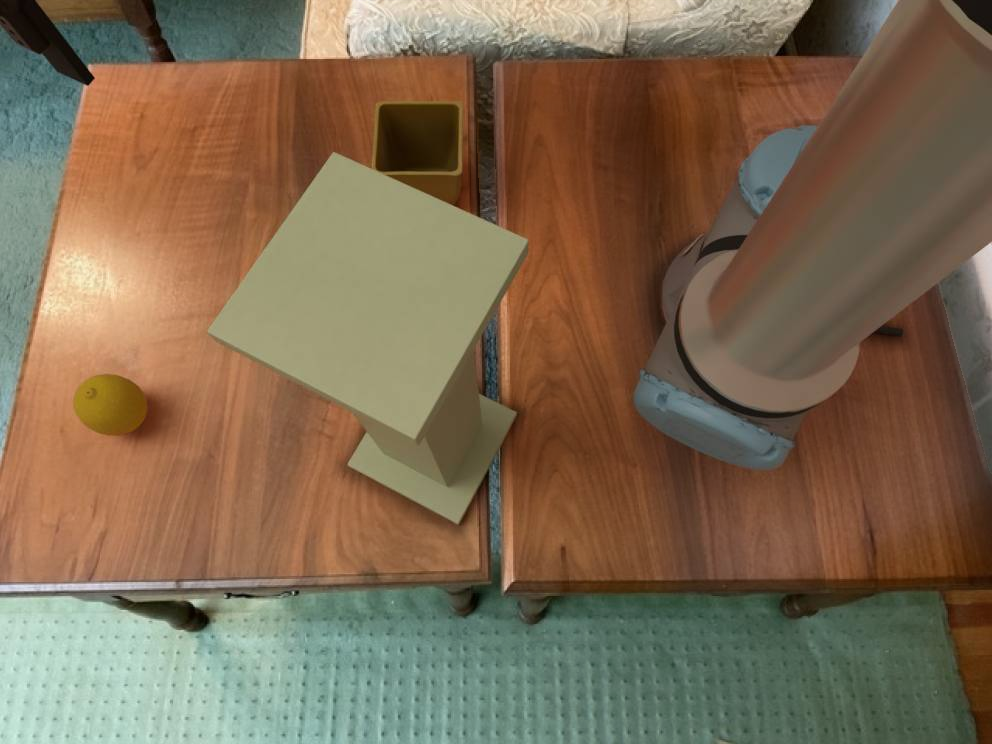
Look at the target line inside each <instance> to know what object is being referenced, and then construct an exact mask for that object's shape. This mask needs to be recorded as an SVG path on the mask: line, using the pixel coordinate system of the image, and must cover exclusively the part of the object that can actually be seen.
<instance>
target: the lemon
mask: <svg viewBox="0 0 992 744" xmlns="http://www.w3.org/2000/svg"><path fill="white" fill-rule="evenodd" d="M72 404H73V410H74V412H75V414H76V416H77V418H78V419H79V420H80V422H81V423H82V424H83V425H84V426H85V427H87V429H90V431H93V432H95V433H97V434H100V435H104V436H110V437H113V436H114V437H115V436H116V437H119V436H123V435H128V434H129V433H131V432H133V431H136V429H138V428H139V427H140V426H141V425H142V424H143V422H144V420H145V419H146V417H147V413H148V409H149V408H148V406H149V405H148V401H147V396H146V394H145V393H144V392H143V390H142V388H141V387H140V386H139V385H138V384H136V383H135V382H134V381H133V380H131V379H129V378H126V377H124V376H122V375H118V374H110V373H102V374H97V375H93V376H90V377H88V378H87V379H85V380H84V381H83V382H82V383H81V384H80V385H79V386H78V388H77V389H76V390H75V393H74V395H73V400H72Z"/></svg>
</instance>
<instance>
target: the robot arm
mask: <svg viewBox="0 0 992 744" xmlns="http://www.w3.org/2000/svg"><path fill="white" fill-rule="evenodd" d="M0 27H1V28H2V29H3V30H4V31H5V33H6V34H7V35H8V36H9V37H10V38H11V39H12V41H13V42H14V43H15V44H17V45H18V46H20V47H22V48H24V49H27V50H29V51H31V52H33V53H35V54H37V55H42V56H43V57H44V58H45V59H46V60H47V61H48V63H49V64H50V65H51V66H52V67H53V69H54V70H55V71H56V72H57V73H59V74H61V75H63V76H64V77H65V76H66V77H67V78H70V79H72V80H74V81H77V82H79V83H81V84H83V85H85V86H87V87H89V86H90V85H91V84H92V82H94V80H95V79H96V77H95V76H94V75H93V73H92V72H91V71H90V69H89V68H88V67H87V65H86V64H85V63H84V62H83V61H82V59H81V57H80V56H79V55H78V54H77V52H76V51H75V50H74V49H73V47H72V46H71V44H70V43H69V42H68V41H67V39H66V38H65V36H64V35H63V34H62V32H60V30H59V29H58V27H56V25H55V24H54V23H53V21H52V20H51V18H50V17H49V16H48V15H47V13H46V12H45V10H43V8H42V7H41V6H40V4H39V2H37V0H0ZM991 243H992V0H898V1H897V2H896V3H895V5H894V7H893V8H892V10H891V11H890V13H889V14H888V16H887V18H886V19H885V21H884V22H883V24H882V25H881V26H880V28H879V30H878V31H877V33H876V35H875V36H874V38H873V39H872V40H871V43H870V44H869V46H868V47H867V48H866V50H865V52H864V53H863V55H862V56H861V58H860V60H858V62H857V65H855V68H854V69H853V71H852V72H851V73H850V75H849V77H848V78H847V80H846V81H845V83H844V85H843V86H842V88H841V89H840V91H839V92H838V94H837V96H836V97H835V99H834V100H833V101H832V103H831V105H830V106H829V108H828V109H827V111H826V113H825V114H824V116H823V117H822V119H821V120H820V122H819V124H818V125H812V124H810V125H809V124H807V125H806V124H805V125H799V126H797V127H795V128H783V129H780V130H777V131H775V132H773V133H772V134H770V135H768V136H767V137H764V139H762V140H761V141H760V142H759V143H758V144H757V145H756V146H755V148H754V149H753V150H752V152H751V153H750V154H749V155H748V156H747V157H746V158H745V159H744V160H743V162H742V163H741V165H740V167H739V170H738V173H737V178H736V179H735V181H734V184H733V185H732V187H731V189H730V191H729V193H728V194H727V196H726V198H725V200H724V202H723V204H722V205H721V208H720V209H719V211H718V213H717V215H716V216H715V219H714V220H713V222H712V223H711V225H710V228H709V229H708V231H707V233H705V232H703V233H702V234H699V235H698V236H697V237H696V238H695V239H694V241H692V242H691V243H689V244H688V245H686V246H685V247H684V248H683V249H682V250H681V251H680V252H679V253H678V254H677V255H676V256H675V257H674V259H673V260H672V262H671V263H670V264H669V266H668V268H667V269H666V272H665V274H664V276H663V277H662V281H661V284H660V288H659V293H658V310H659V315H660V319H661V322H662V325H663V328H662V331H661V333H660V335H659V337H658V339H657V341H656V344H655V345H654V347H653V350H652V351H651V354H650V355H649V358H648V360H647V362H646V364H645V365H644V368H641V369H640V370H639V372H638V375H639V380H638V382H637V384H636V386H635V390H634V392H633V396H632V402H633V406H634V408H635V410H636V411H637V413H638V414H639V416H641V418H643V419H644V421H646V422H647V423H648V424H650V425H651V426H653V427H654V428H655V429H657V430H658V431H659V432H661V433H662V434H664V435H666V436H668V437H670V438H672V439H673V440H675V441H676V442H678V443H681V444H683V445H685V446H687V447H689V448H691V449H693V450H694V451H697V452H699V453H701V454H704V455H706V456H709V457H711V458H713V459H716V460H719V461H721V462H725V463H727V464H730V465H734V466H737V467H741V468H744V469H749V470H754V471H755V470H756V471H772V470H776V469H778V468H779V467H781V466H782V465H783V464H784V463H785V461H786V459H787V457H788V455H789V452H790V451H791V450H792V449H794V448H795V446H796V441H794V438H795V436H796V433H797V432H798V430H799V427H800V426H801V423H802V422H803V419H804V418H805V416H806V415H807V414H808V412H810V411H812V410H813V409H815V408H816V407H818V406H819V405H820V404H822V403H824V402H825V401H827V400H828V399H829V398H831V397H832V396H833V395H834V394H835V393H837V392H838V391H839V390H840V389H841V388H842V387H843V386H844V385H845V384H846V382H848V379H849V378H850V377H851V375H852V374H853V371H854V369H855V367H856V365H857V362H858V358H859V355H860V349H861V342H862V341H865V339H867V338H868V337H869V336H870V335H871V334H873V333H876V334H877V333H878V334H881V335H888V336H893V337H902V336H903V335H904V328H903V327H894V326H888V325H885V324H886V323H888V322H889V321H891V319H893V318H894V317H895V316H897V315H898V314H899V313H900V312H902V311H903V310H904V309H906V308H907V307H908V306H910V305H911V304H912V303H914V302H915V301H916V300H918V299H919V298H920V297H921V296H923V295H924V294H925V293H927V292H928V291H930V290H931V289H932V288H934V287H935V286H937V284H938V283H940V282H941V281H942V280H944V279H945V278H947V277H948V276H949V275H950V274H952V273H953V272H954V271H956V270H957V269H958V268H959V267H961V266H962V265H963V264H965V263H966V262H967V261H969V260H970V259H971V258H972V257H974V256H975V255H976V254H978V253H979V252H980V251H982V250H983V249H984V248H986V247H987V246H988V245H990V244H991Z"/></svg>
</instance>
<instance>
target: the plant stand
mask: <svg viewBox="0 0 992 744" xmlns="http://www.w3.org/2000/svg"><path fill="white" fill-rule="evenodd" d="M529 245H530V240H529V239H528V238H526V237H524V236H522V235H520V234H517V233H515V232H513V231H510V230H509V229H506V228H504V227H502V226H499V225H497V224H495V223H492V222H490V221H488V220H486V219H484V218H483V217H480V216H477V215H475V214H473V213H471V212H468V211H466V210H464V209H462V208H459V207H457V206H455V205H451V204H448V203H446V202H444V201H442V200H440V199H437V198H435V197H433V196H431V195H428V194H426V193H424V192H422V191H420V190H417V189H415V188H413V187H411V186H408V185H406V184H404V183H402V182H400V181H397V180H395V179H393V178H391V177H389V176H386V175H384V174H382V173H380V172H377V171H375V170H373V169H372V167H368V166H367V165H364V164H361V163H359V162H357V161H356V160H353V159H351V158H348V157H346V156H344V155H342V154H340V153H338V152H335V151H333V152H332V153H331V154H330V155H329V157H328V158H327V160H326V162H325V163H324V164H323V165H322V167H321V168H320V170H319V171H318V172H317V174H316V176H315V177H314V178H313V180H312V181H311V183H309V185H308V187H307V188H306V190H305V191H304V192H303V194H302V195H301V197H300V198H299V200H298V201H297V202H296V204H295V205H294V207H293V208H292V210H291V211H290V213H288V215H287V216H286V218H285V219H284V221H283V222H282V224H281V225H280V226H279V228H278V229H277V231H276V232H275V234H274V235H273V237H272V238H271V239H270V240H269V242H268V243H267V245H266V246H265V248H264V249H263V251H262V252H261V254H260V255H259V257H257V259H256V260H255V262H254V263H253V265H252V266H251V268H250V269H249V271H248V272H247V273H246V275H245V276H244V278H243V279H242V281H240V283H239V285H238V286H237V288H236V289H235V290H234V292H233V293H232V295H230V298H228V300H227V302H226V303H225V305H224V306H223V307H222V309H221V310H220V311H219V313H218V315H217V316H216V317H215V318H214V320H213V322H212V323H211V325H210V326H209V327H208V329H207V330H206V333H207V334H208V335H209V336H210V337H211V338H212V339H213V340H214V341H215V342H216V343H217V344H220V345H221V346H223V347H225V348H227V349H230V350H231V351H233V352H235V353H237V354H239V355H240V356H243V357H245V358H246V359H248V360H250V361H251V362H254V363H256V364H258V365H260V366H262V367H264V368H266V369H267V370H269V371H272V372H273V373H275V374H278V375H279V376H280V377H283V378H285V379H287V380H288V381H291V382H293V383H294V384H296V385H298V386H301V387H302V388H304V389H306V390H308V391H310V392H311V393H314V394H316V395H317V396H320V397H322V398H324V399H326V400H328V401H329V402H331V403H333V404H335V405H337V406H339V407H341V408H342V409H345V410H347V411H349V412H351V413H352V414H353V416H354V417H355V419H357V421H358V422H359V424H360V425H361V426H362V428H363V429H364V430H365V431H366V432H365V433H364V435H363V437H362V439H361V441H360V442H359V444H358V446H357V447H356V449H355V450H354V453H353V454H352V455H351V457H350V459H349V461H348V462H347V467H349V468H350V469H352V470H354V471H356V472H358V473H360V474H361V475H364V476H365V477H367V478H369V479H371V480H373V481H375V482H377V483H378V484H380V485H382V486H384V487H386V488H387V489H390V490H392V491H394V492H395V493H397V494H399V495H401V496H402V497H404V498H406V499H408V500H410V501H411V502H414V503H416V504H418V505H420V506H421V507H422V508H426V509H427V510H428V511H431V512H433V513H434V514H437V515H438V516H439V517H441V518H444V519H446V520H448V521H450V522H451V523H453V524H455V525H457V526H459V525H460V524H461V522H462V520H463V519H464V517H465V515H466V513H467V511H468V509H469V507H470V505H471V503H472V501H473V499H474V498H475V496H476V494H477V492H478V490H479V488H480V486H481V484H482V482H483V480H484V479H485V476H486V475H487V473H488V471H489V470H490V467H491V465H492V463H493V462H494V459H496V456H497V454H498V452H499V450H500V448H501V447H502V444H503V442H504V441H505V440H506V437H507V435H508V433H509V431H510V430H511V427H512V425H513V424H514V422H515V420H516V418H517V416H518V412H517V411H515V410H513V409H511V408H509V407H507V406H505V405H503V404H501V403H499V402H497V401H495V400H493V399H491V398H489V397H486V396H485V395H483V394H481V393H480V392H479V381H478V373H477V364H476V355H475V354H476V353H475V348H477V347H476V346H477V345H478V343H479V341H480V339H481V338H482V336H483V334H484V333H485V331H486V329H487V327H488V325H489V324H490V321H492V319H493V317H494V315H495V313H496V311H497V309H498V307H499V306H500V304H501V302H502V301H503V299H504V297H505V295H506V293H507V292H508V290H509V288H510V287H511V285H512V283H513V282H514V279H515V278H516V277H517V274H518V273H519V271H520V269H521V267H522V265H523V264H524V262H525V260H526V258H527V257H528V255H529Z"/></svg>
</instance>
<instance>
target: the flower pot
mask: <svg viewBox="0 0 992 744" xmlns="http://www.w3.org/2000/svg"><path fill="white" fill-rule="evenodd" d="M373 127H374V128H373V142H372V143H373V145H372V156H371V157H372V158H371V169H373V170H375V171H377V172H380V173H382V174H384V175H386V176H389V177H391V178H393V179H395V180H397V181H400V182H402V183H404V184H406V185H408V186H411V187H413V188H415V189H417V190H420V191H422V192H424V193H426V194H428V195H431V196H433V197H435V198H437V199H440V200H442V201H444V202H446V203H448V204H451V205H453V206H455V204H456V203H457V202H458V200H459V198H460V195H461V188H462V177H463V138H464V137H463V134H464V131H463V130H464V104H463V102H461V101H457V100H384V101H377V102H376V104H375V109H374V126H373Z"/></svg>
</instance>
